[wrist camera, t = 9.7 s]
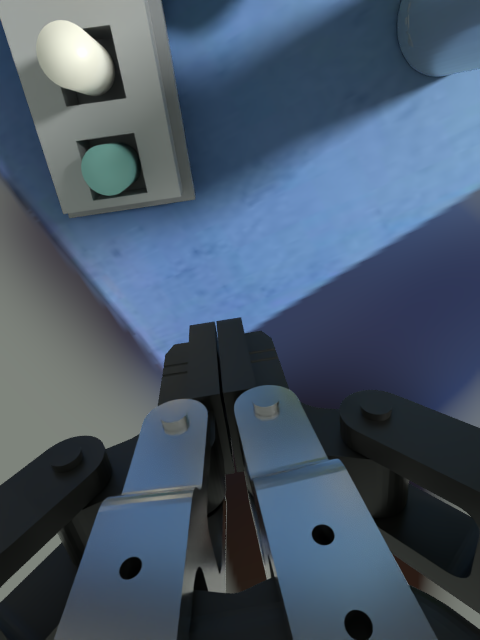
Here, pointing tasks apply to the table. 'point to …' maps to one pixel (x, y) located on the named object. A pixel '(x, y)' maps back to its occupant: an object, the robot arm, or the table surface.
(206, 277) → the table surface
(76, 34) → the cream egg
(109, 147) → the button teal
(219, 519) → the robot arm
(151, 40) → the grey rectangular block
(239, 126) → the table surface
